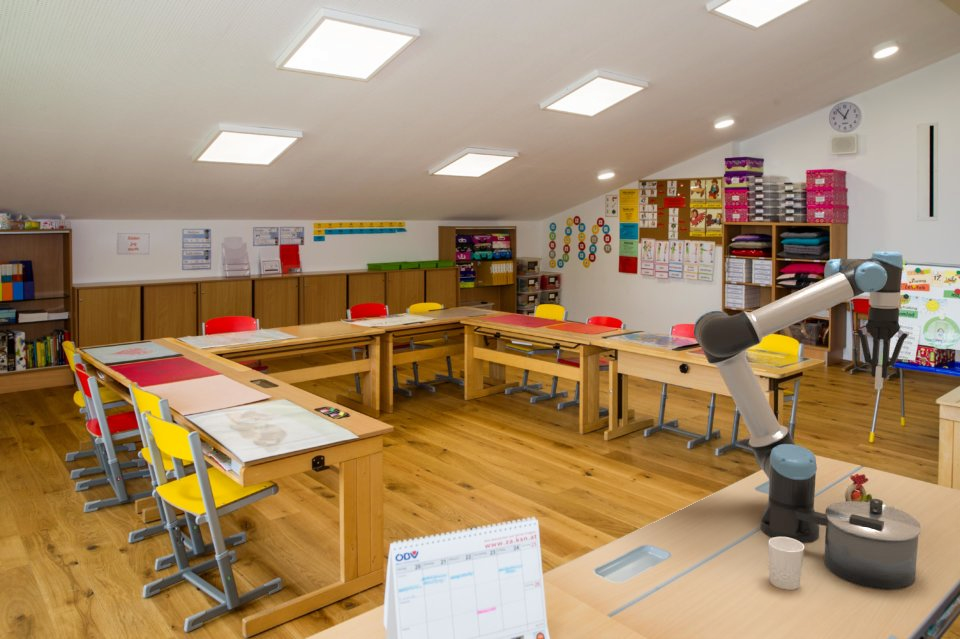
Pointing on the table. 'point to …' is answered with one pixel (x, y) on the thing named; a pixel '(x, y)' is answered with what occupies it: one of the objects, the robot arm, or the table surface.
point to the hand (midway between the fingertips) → (878, 388)
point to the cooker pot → (866, 556)
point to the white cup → (785, 562)
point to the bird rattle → (851, 490)
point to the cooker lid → (873, 520)
